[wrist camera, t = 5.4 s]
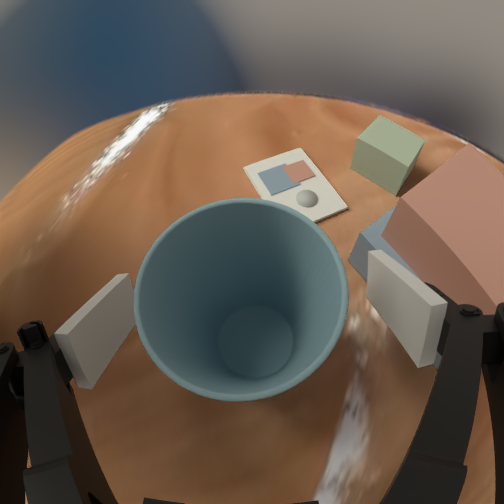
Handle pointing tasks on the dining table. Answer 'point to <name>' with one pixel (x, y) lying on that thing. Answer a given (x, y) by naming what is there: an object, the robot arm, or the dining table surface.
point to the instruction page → (295, 185)
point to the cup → (241, 299)
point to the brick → (386, 154)
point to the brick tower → (447, 232)
